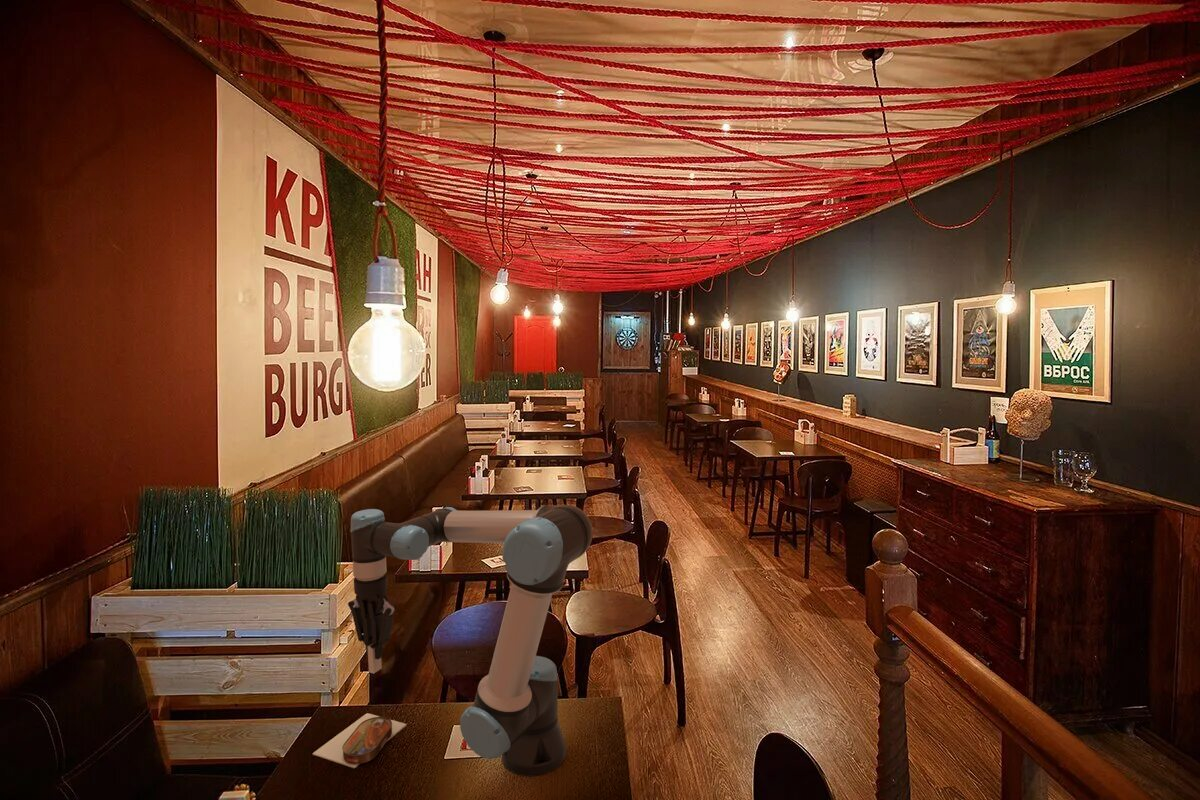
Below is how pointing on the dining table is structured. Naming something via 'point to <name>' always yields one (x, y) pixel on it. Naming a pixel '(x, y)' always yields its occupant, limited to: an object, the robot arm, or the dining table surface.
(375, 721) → the tin
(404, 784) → the dining table surface
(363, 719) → the placemat
